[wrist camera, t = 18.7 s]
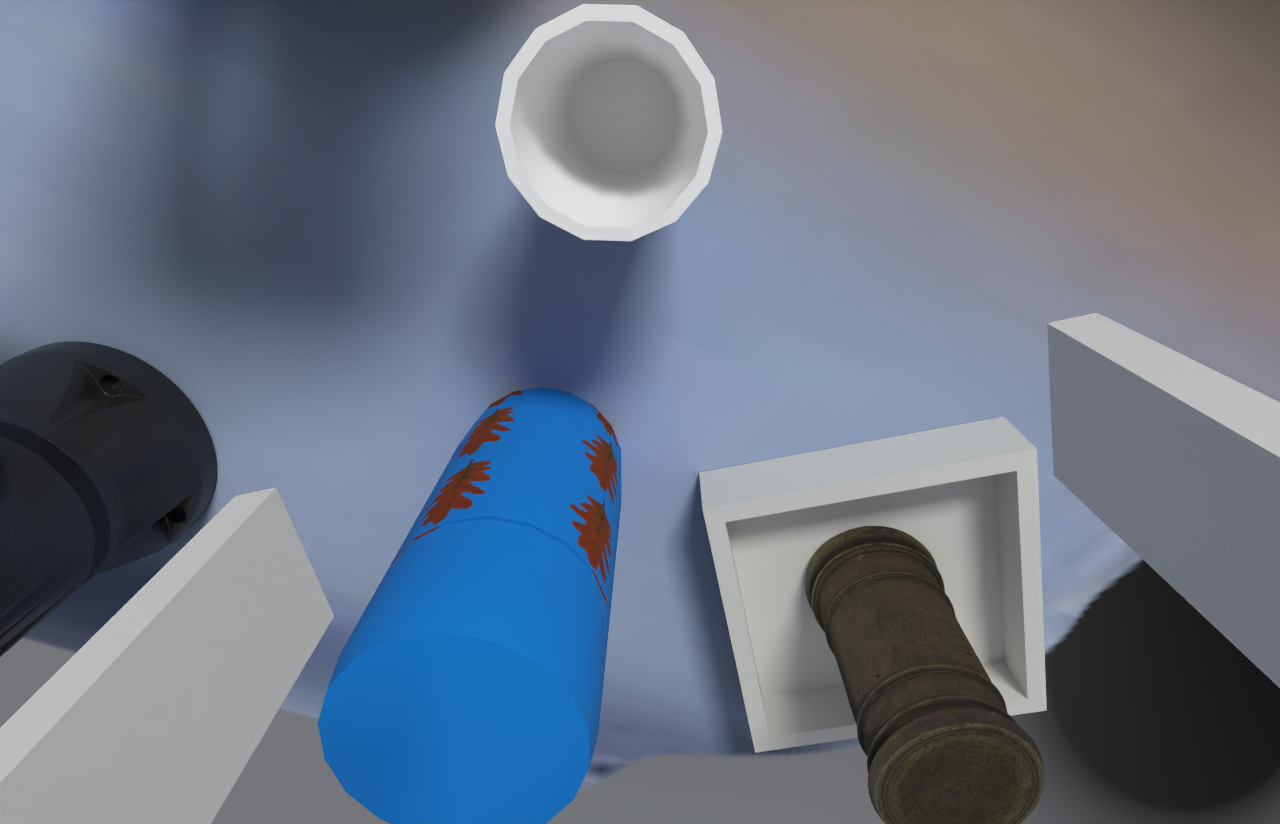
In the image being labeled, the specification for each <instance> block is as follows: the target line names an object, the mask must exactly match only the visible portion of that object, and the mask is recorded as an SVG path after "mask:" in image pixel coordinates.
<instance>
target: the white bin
mask: <svg viewBox="0 0 1280 824" xmlns="http://www.w3.org/2000/svg"><path fill="white" fill-rule="evenodd" d="M699 477H700V488H701V498H702V509H703V514H704V518H705V523H706V527H707V532H708V537H709V541H710V546H711V551H712V555H713V560H714V564H715V569H716V574H717V578H718V583H719V588H720V592H721V597H722V601H723V606H724V611H725V615H726V620H727V625H728V629H729V634H730V638H731V643H732V648H733V652H734V657H735V662H736V666H737V671H738V675H739V680H740V685H741V689H742V694H743V699H744V703H745V708H746V712H747V717H748V722H749V726H750V731H751V736H752V740H753V745H754V749H755V753H757V752H764V751H771V750H777V749H784V748H791V747H798V746H805V745H812V744H819V743H826V742H832V741H839V740H846V739H853V738H858V735H857V725H856V722H855V720H854V717H853V714H852V710H851V707H850V704H849V701H848V697H847V693H846V690H845V686H844V683H843V680H842V677H841V674H840V671H839V667H838V664H837V661H836V658H835V656H834V654H833V653H832V651H831V649H830V648H829V646H828V643H827V640H826V636H825V632H824V631H823V630H822V629H821V627H820V626H819V624H818V622H817V621H816V618H815V616H814V613H813V611H812V609H811V607H810V605H809V603H808V600H807V596H806V591H805V580H806V573H807V569H808V565H809V563H810V560H811V558H812V557H813V555H814V553H815V552H816V551H817V550H818V549H819V547H820V546H821V545H823V544H824V543H825V542H826V541H827V540H829V539H830V538H832V537H834V536H836V535H838V534H840V533H842V532H845V531H847V530H850V529H854V528H858V527H863V526H885V527H890V528H894V529H898V530H900V531H903V532H905V533H907V534H909V535H911V536H912V537H914V538H915V539H917V540H918V541H919V542H920V543H922V544H923V545H924V546H925V547H926V548H927V550H928V551H929V552H930V553H931V555H932V556H933V558H934V560H935V563H936V565H937V568H938V570H939V572H940V574H941V576H942V579H943V582H944V588H945V593H946V595H947V596H948V597H949V599H950V601H951V603H952V605H953V608H954V612H955V616H956V619H957V621H958V622H959V624H960V626H961V628H962V630H963V632H964V634H965V635H966V637H967V639H968V641H969V642H970V644H971V646H972V648H973V650H974V651H975V653H976V655H977V657H978V658H979V660H980V662H981V664H982V665H983V667H984V669H985V671H986V673H987V674H988V676H989V678H990V680H991V682H992V683H993V684H994V685H995V686H996V687H997V689H998V690H999V691H1000V693H1001V695H1002V696H1003V698H1004V701H1005V704H1006V708H1007V713H1008V714H1009V715H1010V716H1011V715H1017V714H1025V713H1031V712H1039V711H1045V710H1046V709H1047V708H1046V682H1045V653H1044V626H1043V599H1042V572H1041V545H1040V518H1039V491H1038V464H1037V449H1036V448H1035V447H1034V446H1033V445H1032V444H1031V443H1030V442H1029V441H1028V440H1027V439H1026V438H1025V437H1024V436H1023V435H1022V434H1021V433H1020V432H1019V431H1018V430H1017V429H1016V428H1015V427H1014V426H1013V425H1012V424H1011V423H1009V422H1008V421H1007V420H1006V419H1005V418H1004V417H998V418H993V419H987V420H982V421H976V422H971V423H965V424H960V425H955V426H949V427H944V428H938V429H933V430H927V431H922V432H917V433H911V434H906V435H900V436H895V437H889V438H884V439H879V440H873V441H868V442H862V443H857V444H851V445H846V446H841V447H835V448H830V449H824V450H819V451H813V452H808V453H803V454H797V455H792V456H786V457H781V458H775V459H770V460H765V461H759V462H754V463H748V464H743V465H737V466H732V467H727V468H721V469H716V470H710V471H705V472H699Z"/></svg>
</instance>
